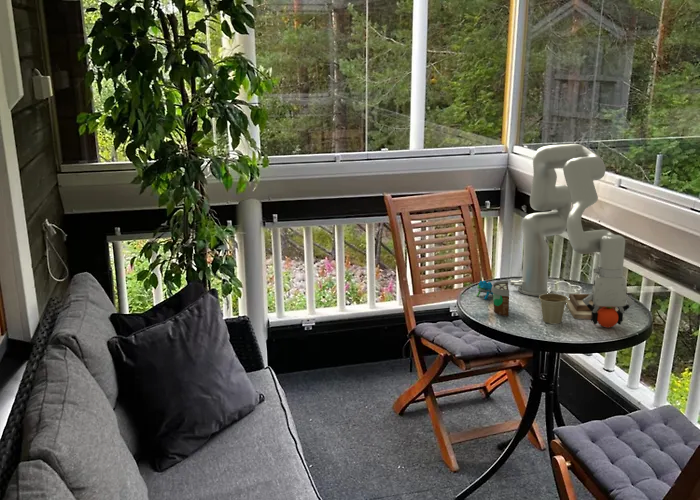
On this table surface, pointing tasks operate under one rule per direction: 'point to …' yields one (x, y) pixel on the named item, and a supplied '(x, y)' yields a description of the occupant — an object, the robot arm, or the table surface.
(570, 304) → the board
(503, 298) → the food container
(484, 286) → the toy dinosaur
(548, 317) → the flower pot
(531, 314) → the table surface
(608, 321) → the clementine
